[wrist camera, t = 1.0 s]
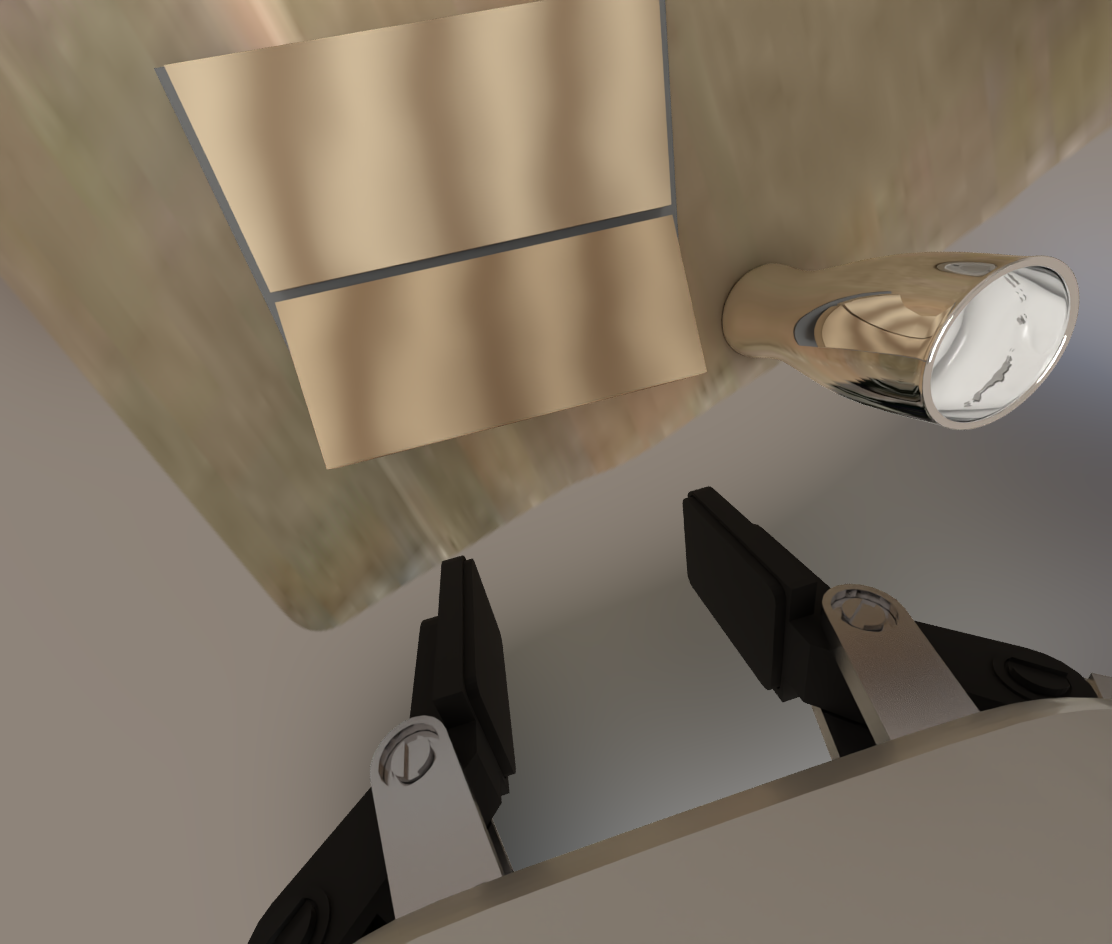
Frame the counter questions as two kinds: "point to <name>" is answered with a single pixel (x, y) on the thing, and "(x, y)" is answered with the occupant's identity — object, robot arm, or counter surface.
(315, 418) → the loose plank
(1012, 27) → the counter surface
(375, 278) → the underlay mat
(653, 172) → the board
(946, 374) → the beer glass
